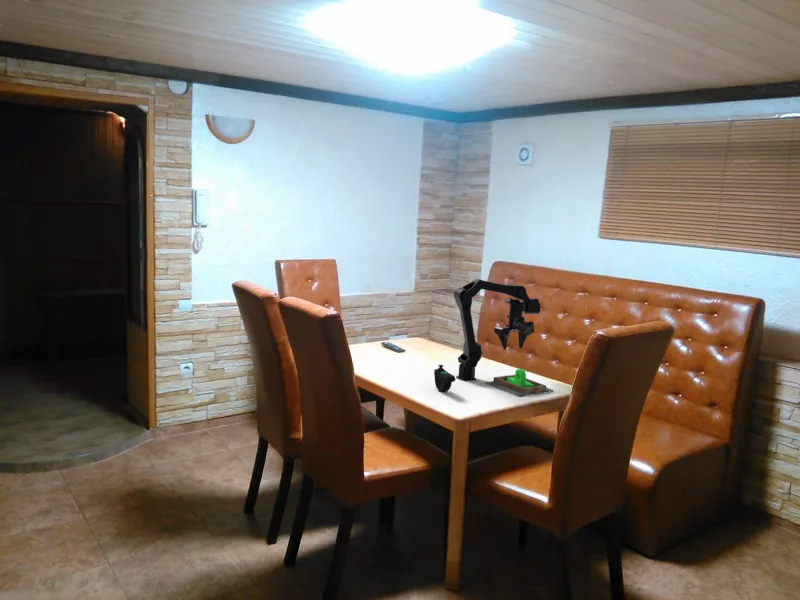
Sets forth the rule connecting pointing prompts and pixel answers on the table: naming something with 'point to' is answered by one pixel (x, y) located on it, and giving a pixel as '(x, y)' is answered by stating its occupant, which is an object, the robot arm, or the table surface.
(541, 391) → the seat
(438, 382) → the controller
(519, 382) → the mechanical part
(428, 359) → the table surface
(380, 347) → the table surface
